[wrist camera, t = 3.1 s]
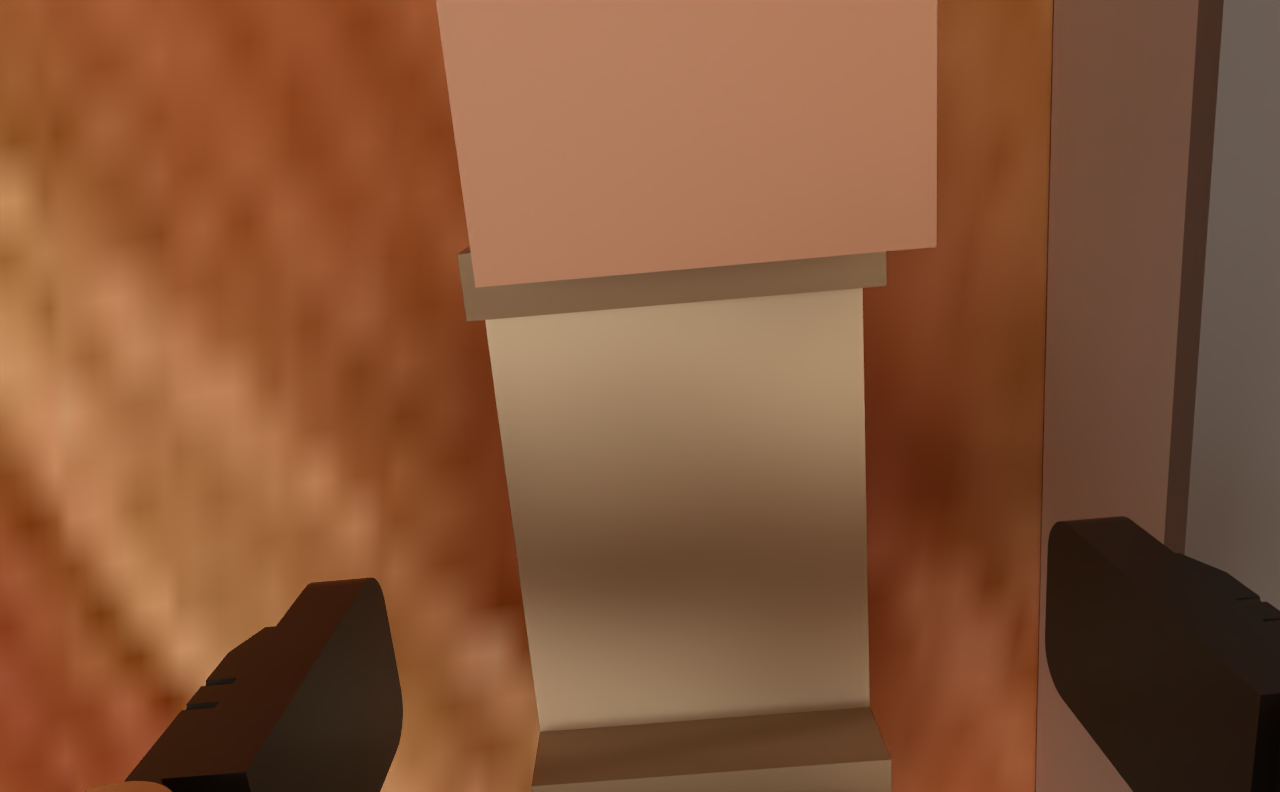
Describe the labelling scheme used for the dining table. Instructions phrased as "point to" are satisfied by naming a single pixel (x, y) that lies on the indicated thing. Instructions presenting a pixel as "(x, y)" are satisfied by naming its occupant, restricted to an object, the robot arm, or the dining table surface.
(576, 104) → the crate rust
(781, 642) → the pallet
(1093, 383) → the dock
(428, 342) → the dining table surface
